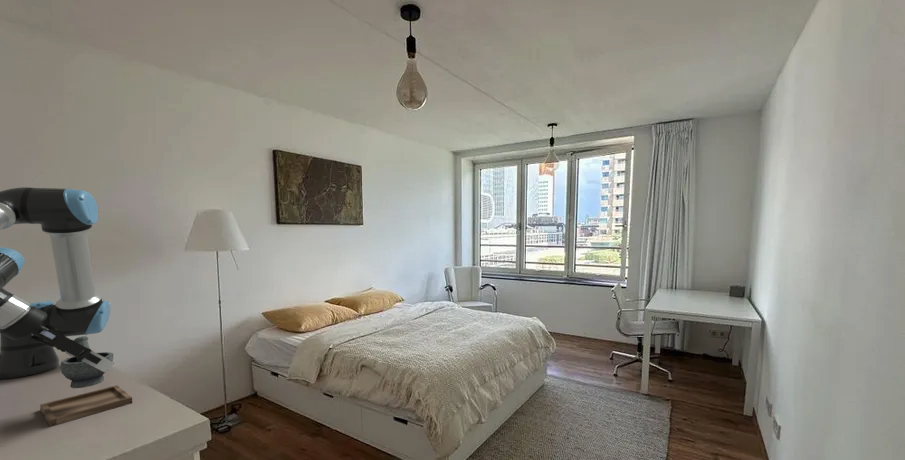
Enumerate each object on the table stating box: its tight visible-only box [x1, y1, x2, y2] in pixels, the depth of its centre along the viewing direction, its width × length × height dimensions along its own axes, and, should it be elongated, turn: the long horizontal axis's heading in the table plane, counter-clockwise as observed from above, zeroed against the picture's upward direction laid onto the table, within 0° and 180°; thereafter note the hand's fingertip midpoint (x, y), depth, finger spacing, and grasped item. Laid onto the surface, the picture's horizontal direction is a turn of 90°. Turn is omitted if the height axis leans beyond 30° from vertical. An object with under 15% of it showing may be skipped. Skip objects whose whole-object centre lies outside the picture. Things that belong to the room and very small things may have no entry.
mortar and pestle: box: [60, 335, 114, 389], centre depth 96 cm, size 11×9×12 cm
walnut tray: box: [39, 385, 133, 427], centre depth 96 cm, size 15×15×2 cm
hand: (101, 364), depth 98 cm, fingers closed on mortar and pestle, 11 cm apart
